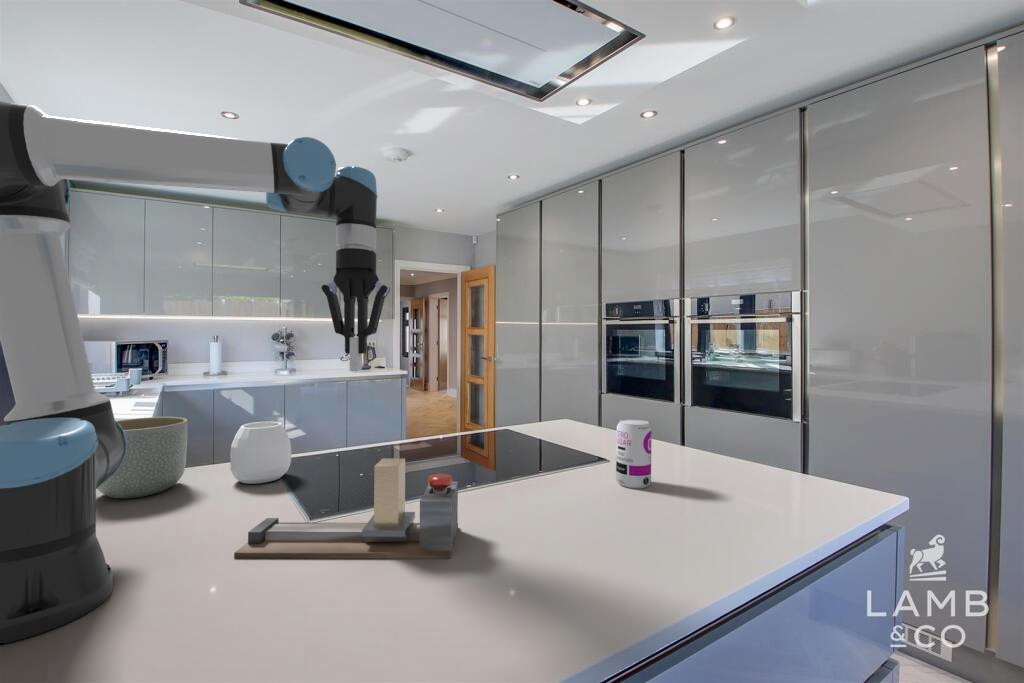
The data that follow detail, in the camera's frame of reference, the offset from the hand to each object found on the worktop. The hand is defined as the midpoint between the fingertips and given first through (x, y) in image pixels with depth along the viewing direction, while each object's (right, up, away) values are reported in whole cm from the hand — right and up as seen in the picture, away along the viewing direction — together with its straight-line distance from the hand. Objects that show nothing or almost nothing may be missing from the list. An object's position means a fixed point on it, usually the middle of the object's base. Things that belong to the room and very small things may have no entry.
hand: (355, 370), depth 91 cm
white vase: (-31, -28, +22) cm, 47 cm away
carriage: (+10, -28, -12) cm, 31 cm away
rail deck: (+4, -29, -12) cm, 31 cm away
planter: (-52, -28, +13) cm, 61 cm away
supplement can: (+60, -29, +21) cm, 70 cm away
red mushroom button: (+18, -25, -12) cm, 33 cm away
